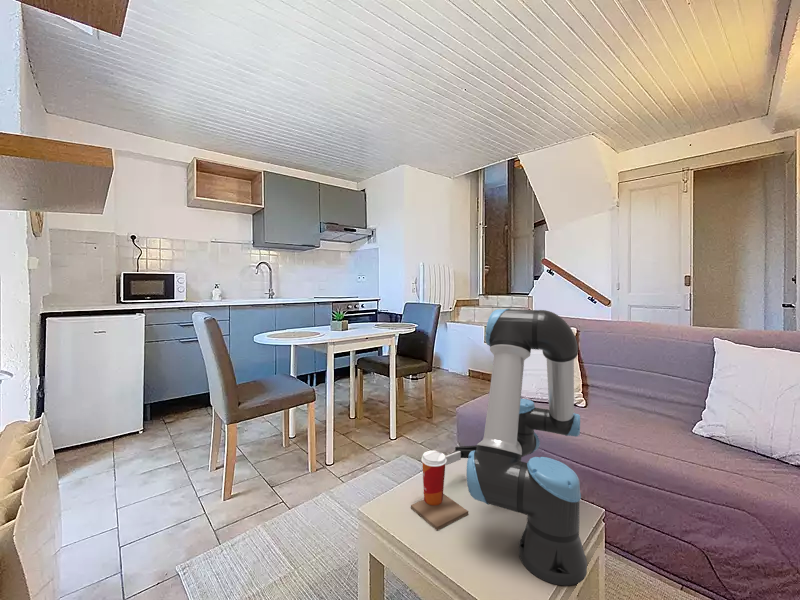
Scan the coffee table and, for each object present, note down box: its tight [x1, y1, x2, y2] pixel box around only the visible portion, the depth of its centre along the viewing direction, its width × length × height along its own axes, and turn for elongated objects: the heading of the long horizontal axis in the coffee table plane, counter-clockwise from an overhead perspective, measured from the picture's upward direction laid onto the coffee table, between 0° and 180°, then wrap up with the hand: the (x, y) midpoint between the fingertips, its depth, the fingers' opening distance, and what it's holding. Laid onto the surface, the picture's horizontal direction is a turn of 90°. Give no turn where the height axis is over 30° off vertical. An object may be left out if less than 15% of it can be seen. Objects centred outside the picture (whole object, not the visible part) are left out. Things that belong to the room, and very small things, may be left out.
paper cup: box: [421, 450, 447, 506], centre depth 110 cm, size 8×8×14 cm
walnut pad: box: [410, 493, 469, 531], centre depth 106 cm, size 12×12×1 cm
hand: (460, 469), depth 111 cm, fingers open, 13 cm apart
